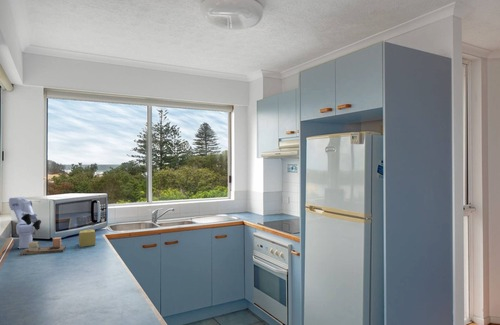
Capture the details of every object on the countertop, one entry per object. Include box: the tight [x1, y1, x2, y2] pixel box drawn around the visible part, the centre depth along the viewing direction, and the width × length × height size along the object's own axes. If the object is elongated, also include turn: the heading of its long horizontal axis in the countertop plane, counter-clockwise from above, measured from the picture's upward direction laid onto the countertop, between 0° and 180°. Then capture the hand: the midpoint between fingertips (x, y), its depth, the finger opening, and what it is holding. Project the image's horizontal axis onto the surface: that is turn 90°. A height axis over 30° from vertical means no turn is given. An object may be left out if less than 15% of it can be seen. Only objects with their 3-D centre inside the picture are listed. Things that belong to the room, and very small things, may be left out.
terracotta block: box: [52, 236, 62, 247], centre depth 240 cm, size 4×4×6 cm
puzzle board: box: [20, 245, 67, 256], centre depth 229 cm, size 11×24×2 cm, turn 109°
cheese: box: [78, 228, 97, 248], centre depth 248 cm, size 10×11×10 cm
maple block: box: [29, 240, 39, 251], centre depth 227 cm, size 4×4×6 cm
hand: (33, 226), depth 225 cm, fingers open, 7 cm apart
